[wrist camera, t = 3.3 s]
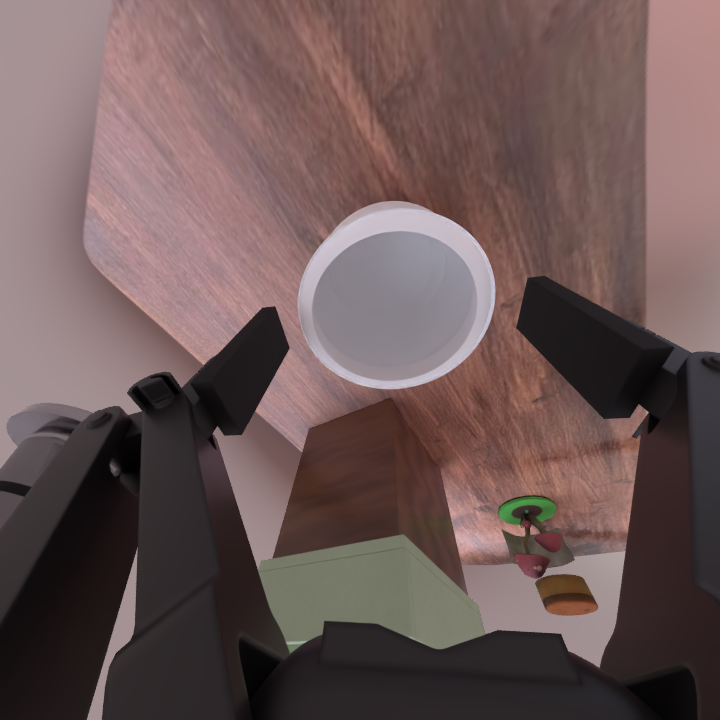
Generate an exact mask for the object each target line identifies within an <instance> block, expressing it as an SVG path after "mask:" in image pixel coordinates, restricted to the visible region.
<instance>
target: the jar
mask: <svg viewBox="0 0 720 720" xmlns="http://www.w3.org/2000/svg"><path fill="white" fill-rule="evenodd" d="M494 304H495V281H494V276H493V271H492V268H491V265H490V262H489V260H488V258H487V256H486V254H485V252H484V251H483V249H482V247H481V246H480V245H479V243H478V242H477V241H476V240H475V239H474V237H473V236H472V235H471V234H470V233H468V232H467V231H466V230H465V229H464V228H462V227H461V226H460V225H458V224H457V223H455V222H453V221H452V220H450V219H448V218H446V217H443V216H441V215H438V214H435V213H434V212H432V211H430V210H429V209H427V208H424V207H422V206H420V205H417V204H413V203H409V202H403V201H385V202H379V203H375V204H372V205H369V206H366V207H364V208H362V209H360V210H358V211H356V212H354V213H353V214H351V215H350V216H348V217H347V218H346V219H345V220H343V221H342V222H341V223H340V224H339V225H338V226H337V227H336V228H335V229H334V231H333V232H332V233H331V235H330V236H329V237H328V238H327V239H326V240H325V241H324V242H323V243H322V244H321V245H320V246H319V248H318V249H317V250H316V252H315V253H314V255H313V256H312V258H311V259H310V261H309V263H308V265H307V267H306V269H305V272H304V274H303V277H302V280H301V283H300V288H299V293H298V317H299V322H300V326H301V330H302V333H303V335H304V338H305V340H306V342H307V344H308V346H309V347H310V349H311V350H312V352H313V353H314V354H315V356H316V357H317V358H318V359H319V360H320V361H321V362H322V363H323V364H324V365H325V366H326V367H327V368H328V369H330V370H331V371H332V372H334V373H335V374H337V375H338V376H340V377H342V378H344V379H346V380H348V381H350V382H353V383H355V384H358V385H362V386H366V387H371V388H377V389H402V388H409V387H414V386H418V385H421V384H425V383H427V382H430V381H432V380H435V379H437V378H439V377H441V376H443V375H445V374H446V373H448V372H450V371H451V370H453V369H454V368H455V367H457V366H458V365H459V364H460V363H462V362H463V361H464V360H465V359H466V358H467V357H468V356H469V355H470V354H471V353H472V352H473V350H474V349H475V348H476V347H477V345H478V344H479V342H480V341H481V339H482V338H483V336H484V334H485V332H486V330H487V328H488V326H489V323H490V321H491V318H492V314H493V310H494Z"/></svg>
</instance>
